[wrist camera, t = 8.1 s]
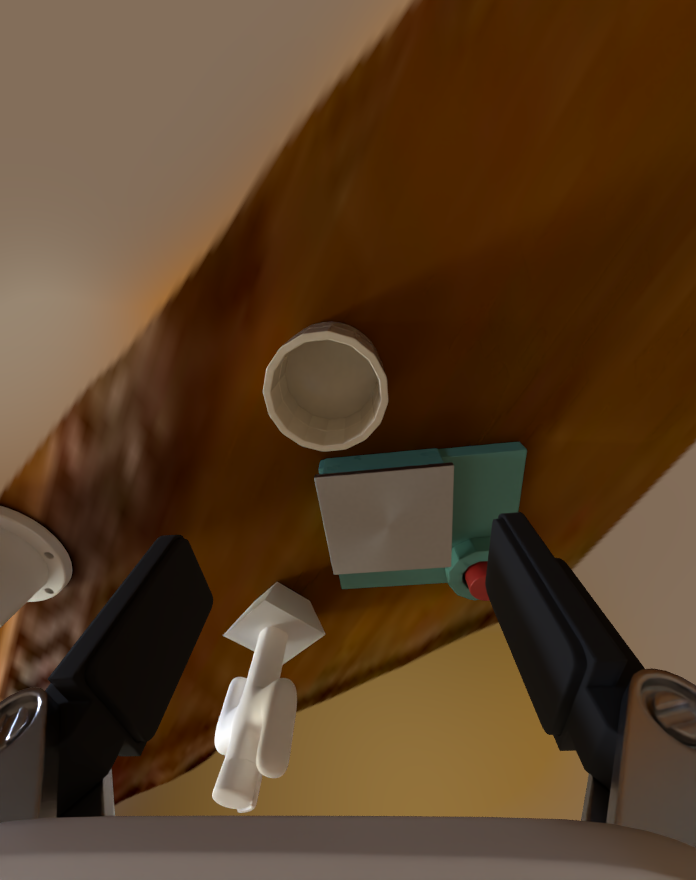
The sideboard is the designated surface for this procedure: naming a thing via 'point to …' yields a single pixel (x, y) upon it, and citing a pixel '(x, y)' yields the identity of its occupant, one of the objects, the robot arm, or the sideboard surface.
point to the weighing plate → (387, 511)
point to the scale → (464, 514)
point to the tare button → (477, 580)
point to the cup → (326, 387)
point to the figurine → (262, 696)
